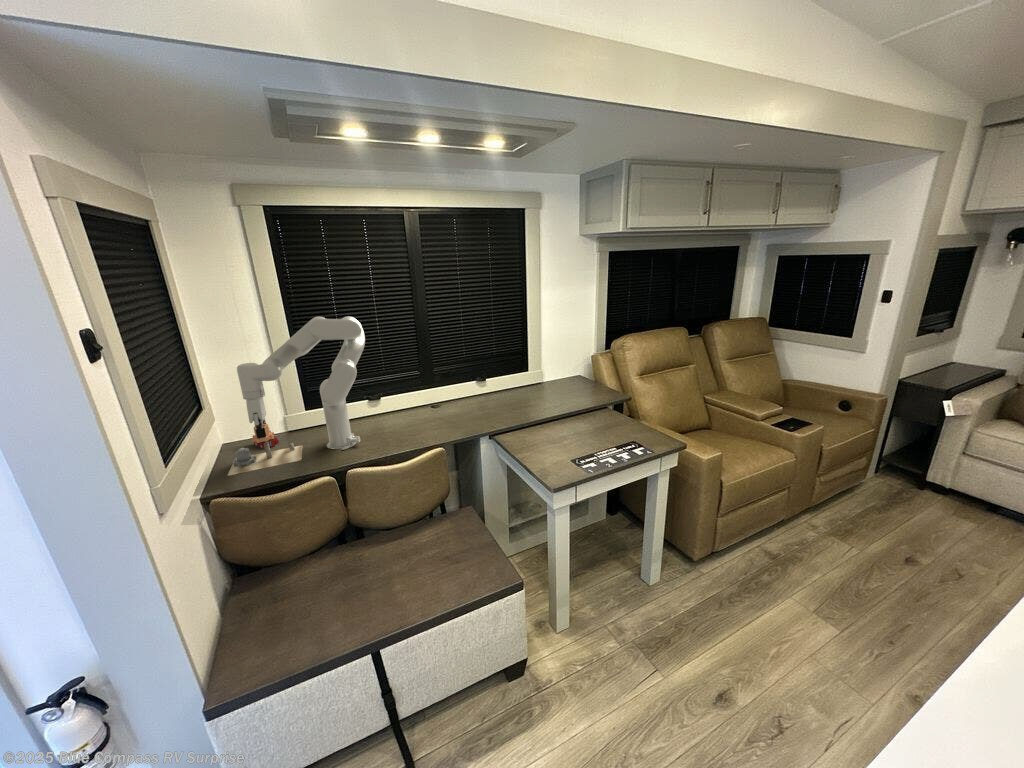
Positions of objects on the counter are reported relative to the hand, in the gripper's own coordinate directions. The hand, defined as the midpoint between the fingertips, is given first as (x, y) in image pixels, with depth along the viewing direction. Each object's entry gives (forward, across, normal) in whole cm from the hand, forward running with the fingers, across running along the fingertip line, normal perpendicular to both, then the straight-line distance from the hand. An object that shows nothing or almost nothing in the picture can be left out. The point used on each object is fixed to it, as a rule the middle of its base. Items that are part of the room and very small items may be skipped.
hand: (262, 434), depth 161 cm
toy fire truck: (+13, -17, -2) cm, 21 cm away
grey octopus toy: (+11, 0, -8) cm, 14 cm away
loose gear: (+2, 0, 0) cm, 2 cm away
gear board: (+12, +1, 0) cm, 12 cm away
